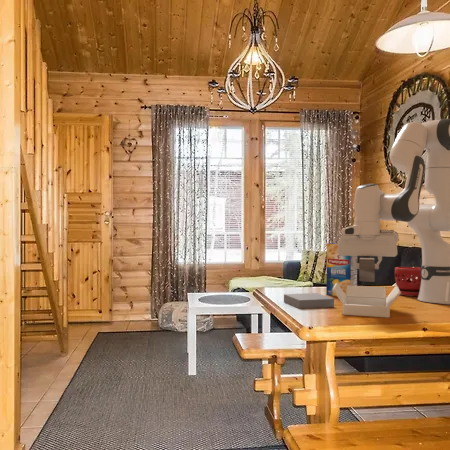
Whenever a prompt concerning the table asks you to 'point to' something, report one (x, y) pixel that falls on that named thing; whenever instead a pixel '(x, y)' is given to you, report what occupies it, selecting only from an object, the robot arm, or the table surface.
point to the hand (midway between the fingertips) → (366, 268)
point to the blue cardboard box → (339, 270)
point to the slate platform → (308, 300)
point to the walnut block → (367, 269)
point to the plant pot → (408, 280)
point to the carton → (366, 300)
